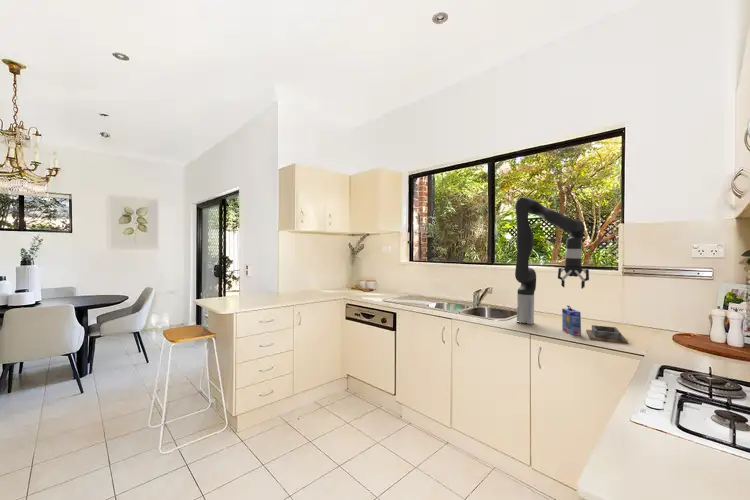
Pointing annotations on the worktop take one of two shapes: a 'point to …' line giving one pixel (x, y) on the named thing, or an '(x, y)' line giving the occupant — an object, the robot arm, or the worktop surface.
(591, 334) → the docking frame
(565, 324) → the ink cartridge box
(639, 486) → the worktop surface
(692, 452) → the worktop surface
